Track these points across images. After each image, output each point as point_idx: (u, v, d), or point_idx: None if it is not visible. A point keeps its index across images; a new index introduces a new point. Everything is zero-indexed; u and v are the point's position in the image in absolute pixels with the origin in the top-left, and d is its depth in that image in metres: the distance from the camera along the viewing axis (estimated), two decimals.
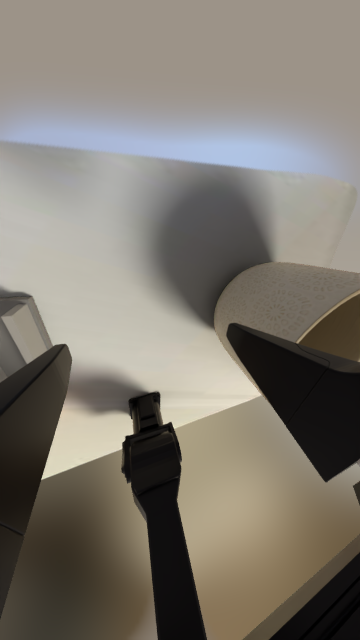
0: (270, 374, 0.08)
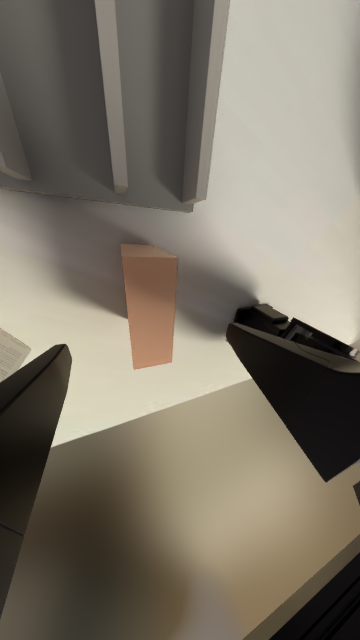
0: (270, 374, 0.08)
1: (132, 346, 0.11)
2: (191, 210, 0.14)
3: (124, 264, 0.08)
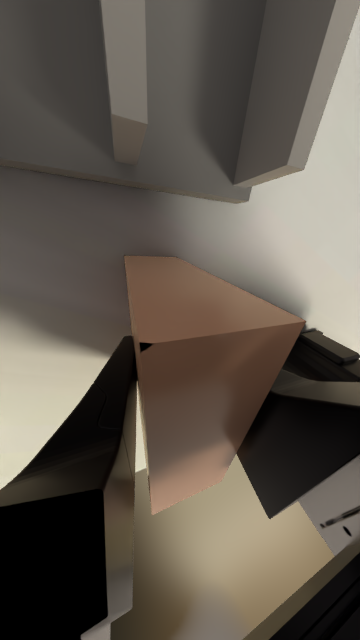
0: None
1: (153, 494, 0.05)
2: (246, 199, 0.08)
3: (147, 366, 0.02)
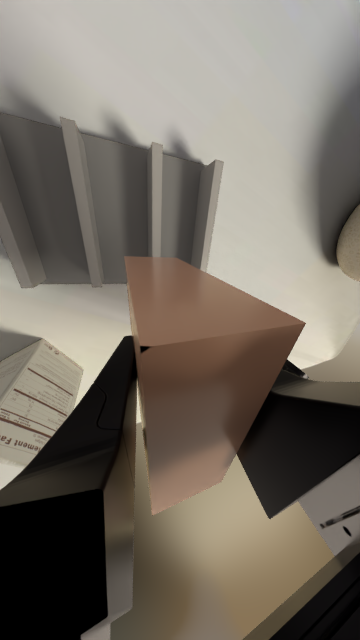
0: None
1: (153, 495, 0.05)
2: None
3: (148, 369, 0.02)
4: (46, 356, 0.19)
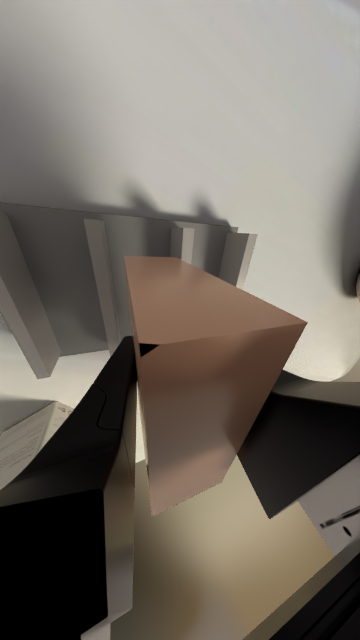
0: None
1: (153, 496, 0.05)
2: None
3: (147, 368, 0.02)
4: (60, 424, 0.17)
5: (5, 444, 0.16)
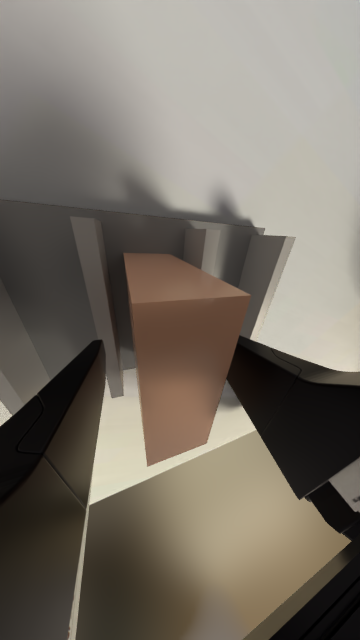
0: (245, 381, 0.07)
1: (147, 442, 0.06)
2: None
3: (137, 320, 0.03)
4: None
5: None
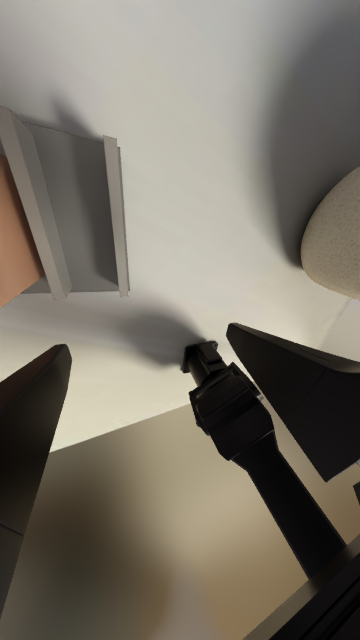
0: (270, 374, 0.08)
1: None
2: (128, 290, 0.18)
3: None
4: None
5: None
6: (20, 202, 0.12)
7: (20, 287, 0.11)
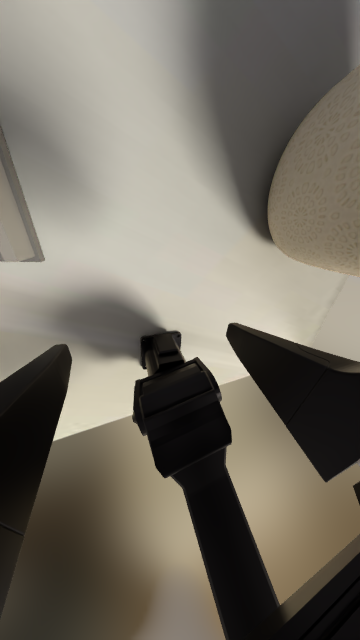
0: (270, 374, 0.08)
1: None
2: (38, 261, 0.15)
3: None
4: None
5: None
6: None
7: None
